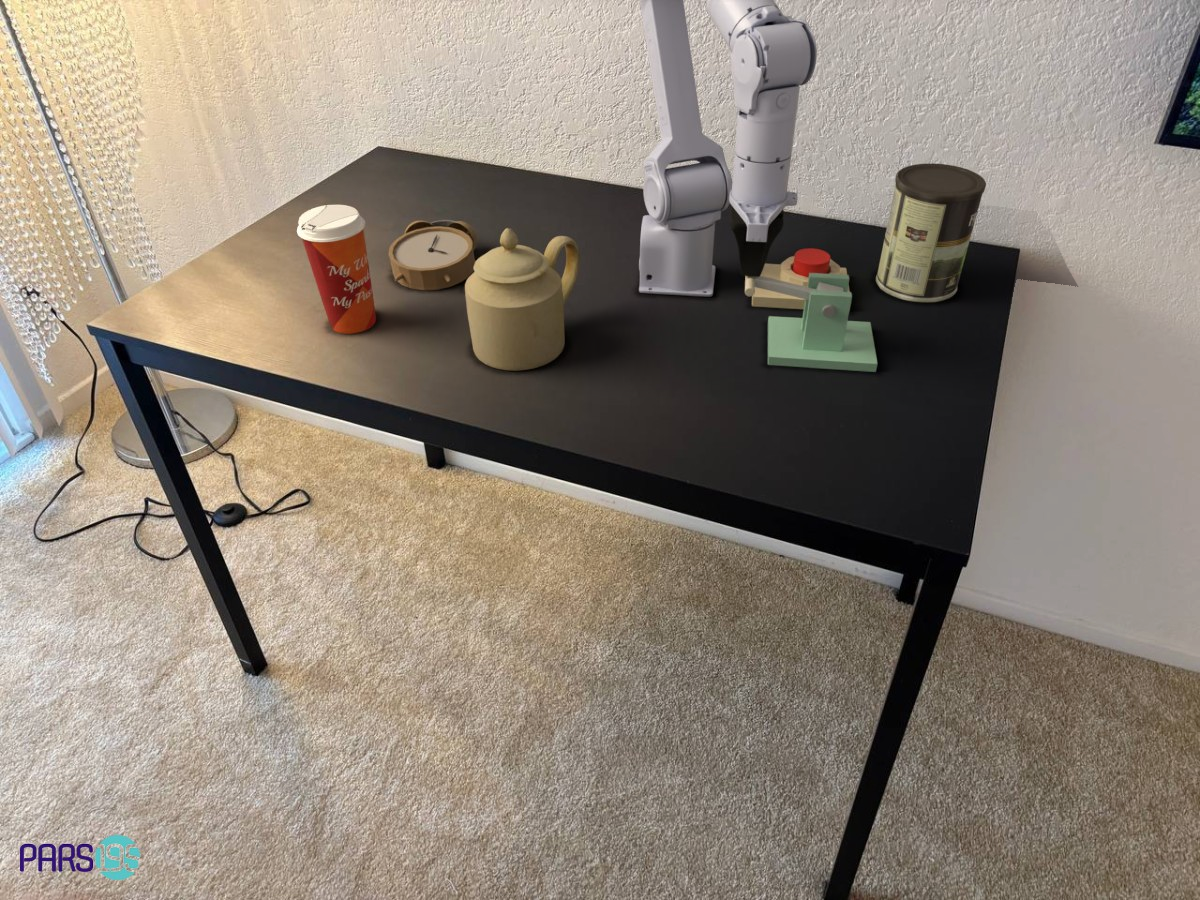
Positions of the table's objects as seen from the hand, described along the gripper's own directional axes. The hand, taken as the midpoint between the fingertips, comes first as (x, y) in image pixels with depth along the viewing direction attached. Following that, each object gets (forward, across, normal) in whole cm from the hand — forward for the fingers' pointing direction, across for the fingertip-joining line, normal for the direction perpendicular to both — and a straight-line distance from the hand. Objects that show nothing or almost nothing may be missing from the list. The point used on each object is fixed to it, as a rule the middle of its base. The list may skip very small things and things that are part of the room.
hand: (750, 273), depth 96 cm
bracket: (+9, 0, -9) cm, 13 cm away
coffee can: (+9, +17, -22) cm, 29 cm away
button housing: (+9, +13, -7) cm, 17 cm away
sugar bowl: (+9, -2, +26) cm, 28 cm away
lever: (+3, 0, -5) cm, 5 cm away
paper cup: (+9, -1, +48) cm, 49 cm away
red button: (+6, +13, -8) cm, 16 cm away
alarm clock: (+9, +15, +42) cm, 46 cm away
